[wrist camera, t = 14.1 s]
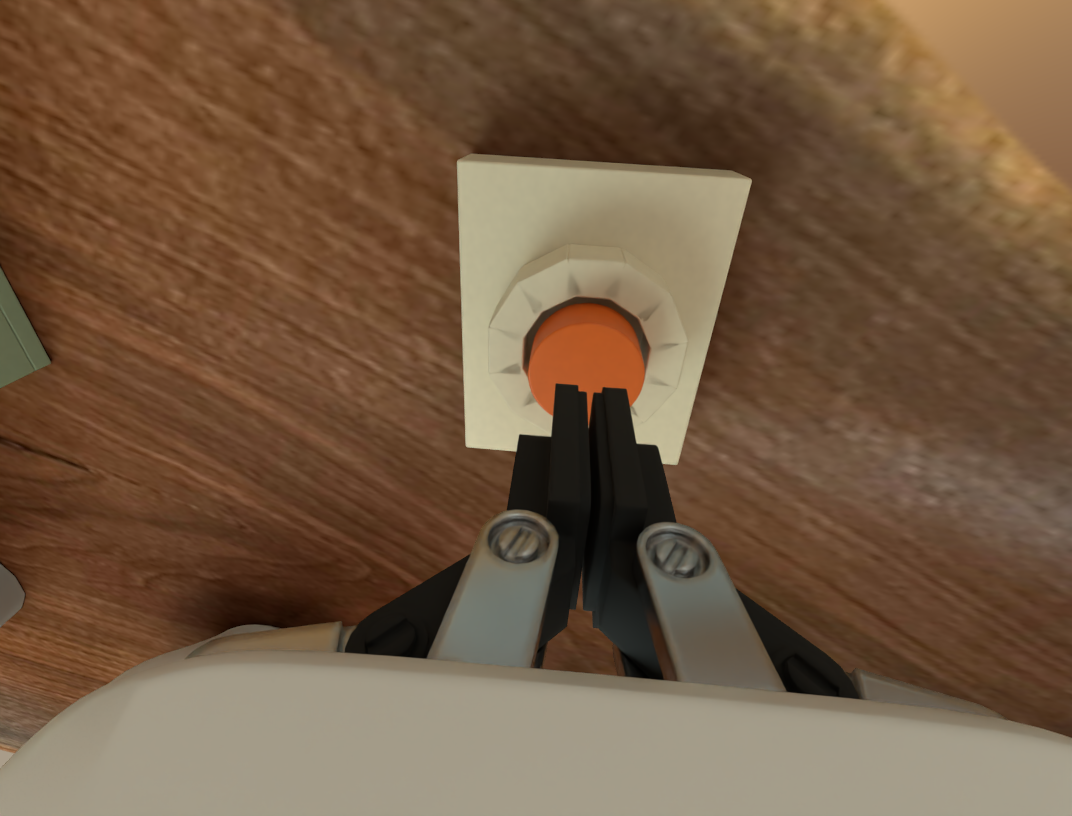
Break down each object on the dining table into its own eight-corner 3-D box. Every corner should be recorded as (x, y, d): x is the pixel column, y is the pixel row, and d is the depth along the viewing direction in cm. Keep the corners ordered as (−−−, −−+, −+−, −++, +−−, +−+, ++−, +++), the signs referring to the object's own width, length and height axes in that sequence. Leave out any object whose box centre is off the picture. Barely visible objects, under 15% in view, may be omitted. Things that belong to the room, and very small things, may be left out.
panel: (469, 153, 17) (442, 165, 13) (733, 170, 16) (774, 187, 13) (474, 419, 23) (456, 475, 19) (669, 435, 22) (686, 495, 19)
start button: (534, 298, 16) (530, 318, 14) (647, 306, 16) (655, 327, 14) (529, 394, 18) (525, 421, 16) (630, 402, 17) (635, 430, 16)
